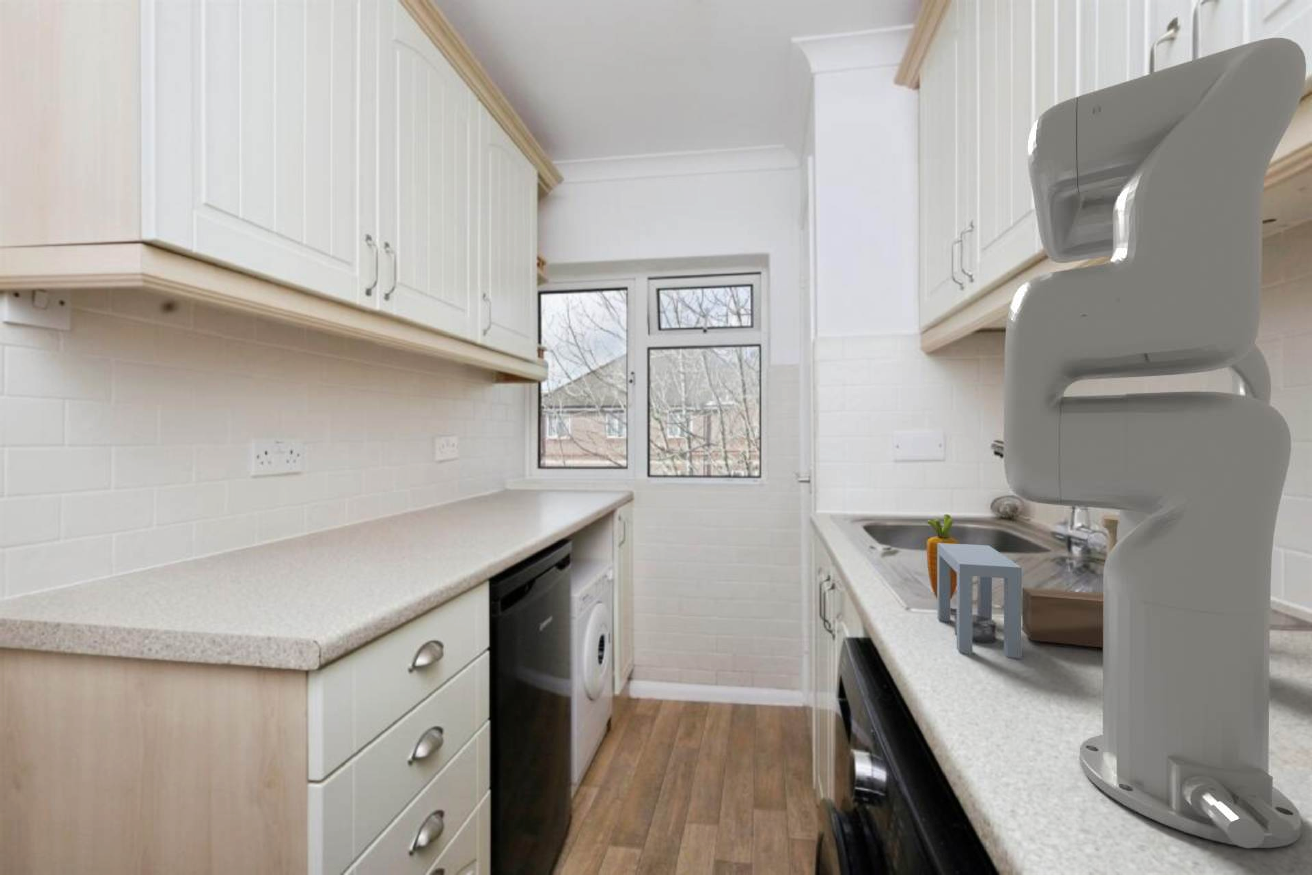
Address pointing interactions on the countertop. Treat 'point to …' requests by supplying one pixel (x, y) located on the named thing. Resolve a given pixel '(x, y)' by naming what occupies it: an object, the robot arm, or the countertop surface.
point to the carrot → (932, 553)
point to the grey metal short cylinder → (981, 629)
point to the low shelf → (979, 591)
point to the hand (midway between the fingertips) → (1152, 640)
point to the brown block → (1063, 616)
